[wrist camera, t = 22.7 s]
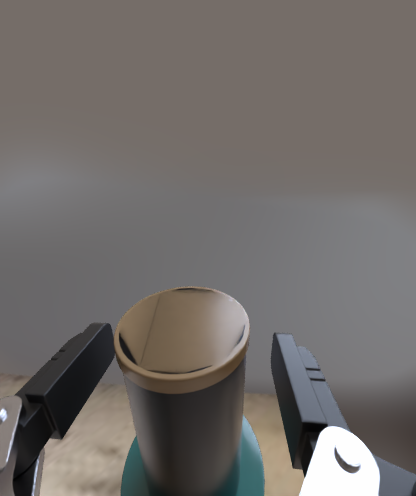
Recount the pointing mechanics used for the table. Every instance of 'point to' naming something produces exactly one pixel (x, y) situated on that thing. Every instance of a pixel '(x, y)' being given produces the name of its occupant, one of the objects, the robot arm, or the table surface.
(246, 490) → the squat tin
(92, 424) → the table surface
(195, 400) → the tall tin
